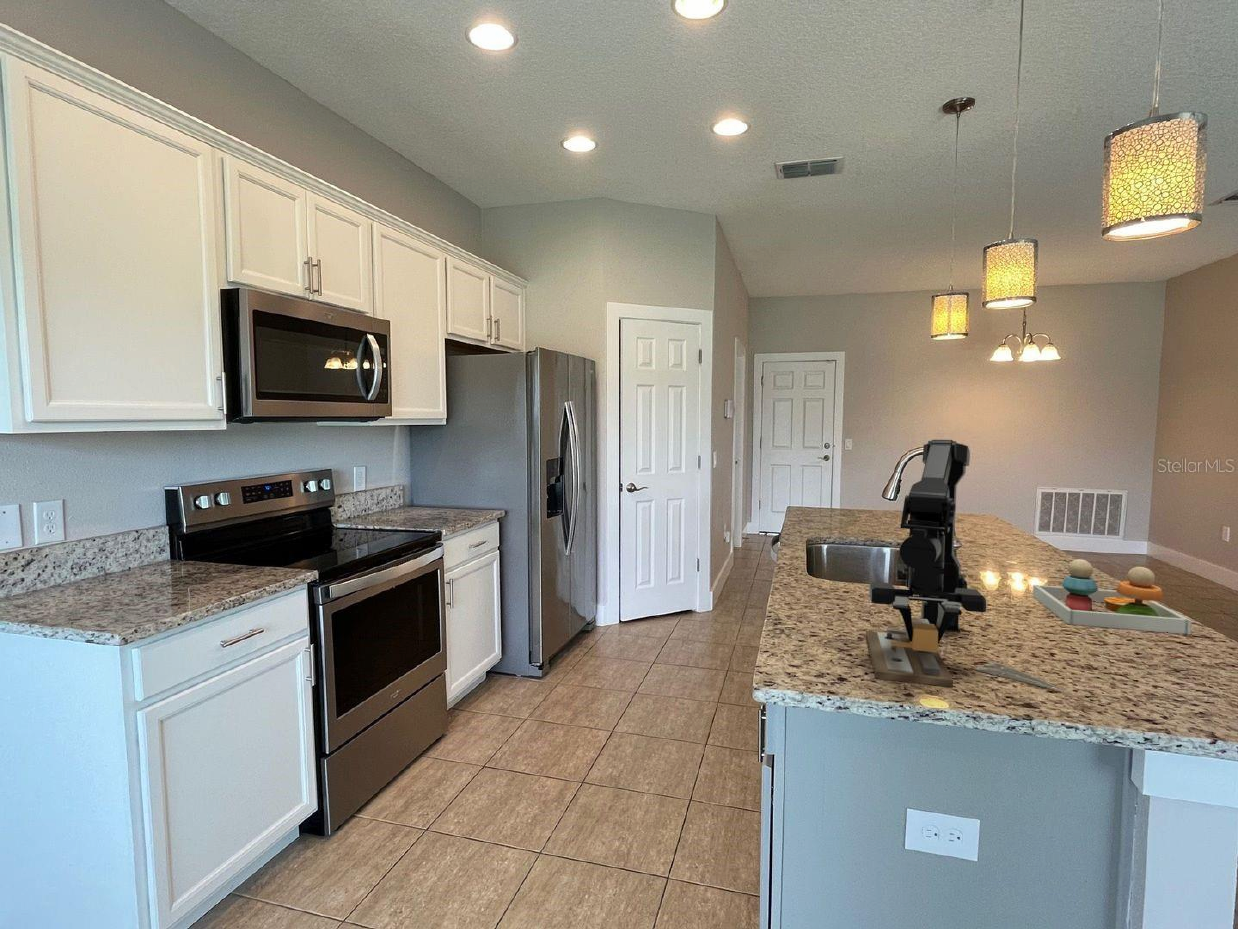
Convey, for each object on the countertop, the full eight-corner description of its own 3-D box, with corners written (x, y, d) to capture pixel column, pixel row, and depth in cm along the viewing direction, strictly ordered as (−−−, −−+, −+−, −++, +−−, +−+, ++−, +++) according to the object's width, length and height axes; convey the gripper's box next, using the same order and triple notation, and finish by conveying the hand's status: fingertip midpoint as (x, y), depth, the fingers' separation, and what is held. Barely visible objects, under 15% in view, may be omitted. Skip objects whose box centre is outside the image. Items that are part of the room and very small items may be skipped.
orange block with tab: (933, 649, 116) (934, 624, 116) (937, 657, 112) (938, 631, 112) (889, 645, 118) (890, 620, 118) (892, 652, 114) (893, 626, 114)
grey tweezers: (974, 673, 111) (975, 662, 111) (985, 667, 114) (987, 657, 114) (1091, 716, 97) (1093, 704, 97) (1101, 708, 100) (1103, 696, 100)
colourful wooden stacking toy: (1150, 610, 148) (1153, 558, 147) (1164, 630, 133) (1168, 572, 133) (1058, 598, 158) (1060, 549, 157) (1062, 615, 143) (1064, 562, 142)
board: (930, 643, 125) (930, 616, 124) (953, 687, 104) (954, 655, 103) (865, 636, 128) (866, 611, 128) (875, 678, 107) (876, 647, 107)
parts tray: (1136, 604, 152) (1137, 592, 152) (1190, 634, 130) (1191, 620, 130) (1032, 596, 159) (1033, 584, 158) (1067, 624, 137) (1068, 610, 136)
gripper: (973, 553, 118) (970, 633, 119) (868, 547, 124) (866, 623, 125) (988, 566, 108) (985, 654, 109) (873, 558, 113) (870, 642, 114)
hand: (923, 642), depth 114 cm, fingers closed on orange block with tab, 4 cm apart
